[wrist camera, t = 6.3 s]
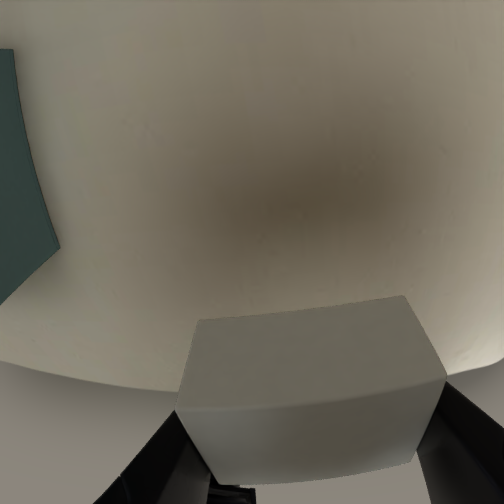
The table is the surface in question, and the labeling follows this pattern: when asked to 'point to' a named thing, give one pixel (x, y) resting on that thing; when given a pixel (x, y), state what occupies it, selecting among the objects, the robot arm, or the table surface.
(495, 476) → the robot arm
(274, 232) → the table surface
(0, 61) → the teal storage bin
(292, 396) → the gray rectangular box
